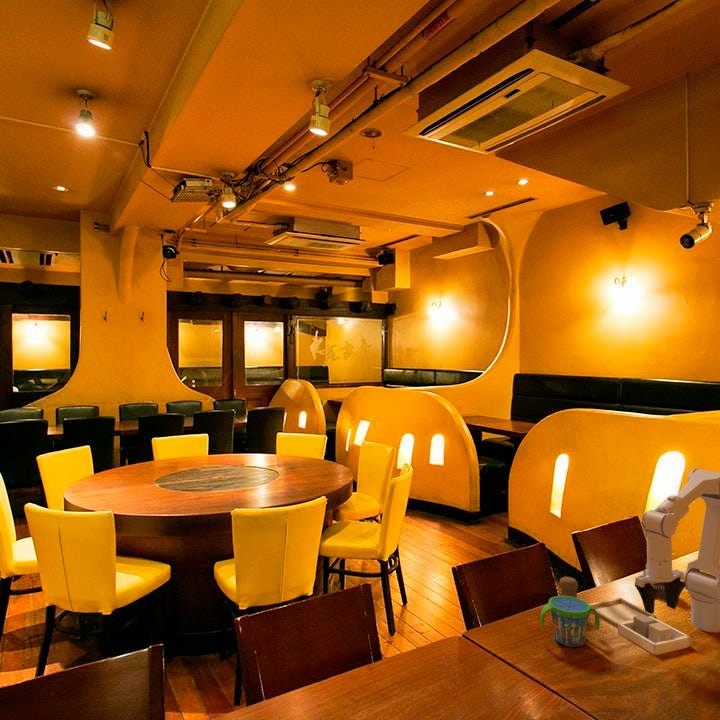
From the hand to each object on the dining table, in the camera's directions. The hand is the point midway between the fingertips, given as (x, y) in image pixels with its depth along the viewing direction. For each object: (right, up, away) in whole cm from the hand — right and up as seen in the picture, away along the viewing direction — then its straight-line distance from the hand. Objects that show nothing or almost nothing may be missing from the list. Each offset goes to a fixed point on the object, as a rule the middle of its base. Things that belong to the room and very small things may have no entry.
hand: (660, 609), depth 139 cm
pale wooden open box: (-1, -10, +2) cm, 10 cm away
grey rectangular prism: (-2, -9, +5) cm, 11 cm away
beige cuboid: (0, -9, 0) cm, 9 cm away
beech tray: (-3, -10, +17) cm, 20 cm away
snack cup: (-22, -11, +4) cm, 25 cm away
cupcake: (+17, -10, +31) cm, 37 cm away
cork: (-17, -11, +18) cm, 27 cm away
